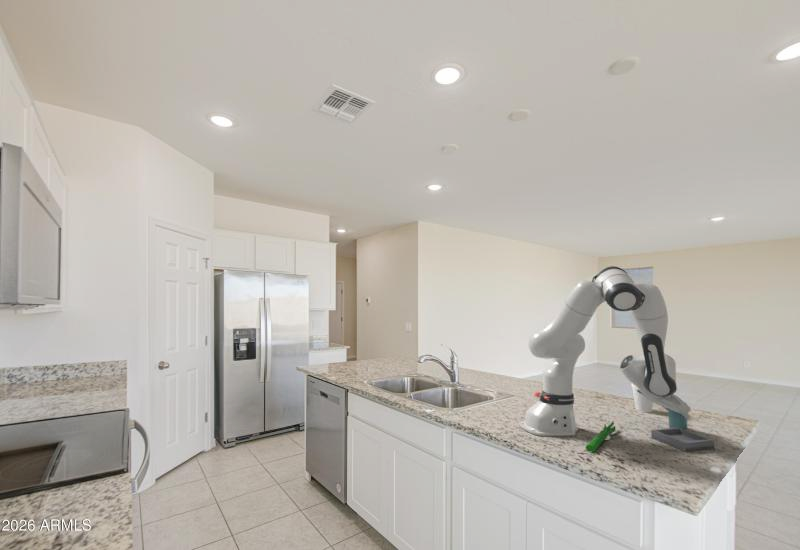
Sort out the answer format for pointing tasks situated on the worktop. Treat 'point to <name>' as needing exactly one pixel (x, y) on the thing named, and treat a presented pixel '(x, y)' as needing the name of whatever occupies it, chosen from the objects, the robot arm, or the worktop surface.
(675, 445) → the tray
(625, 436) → the worktop surface
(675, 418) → the teal cylinder
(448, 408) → the worktop surface
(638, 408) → the foam cup
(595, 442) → the green onion
